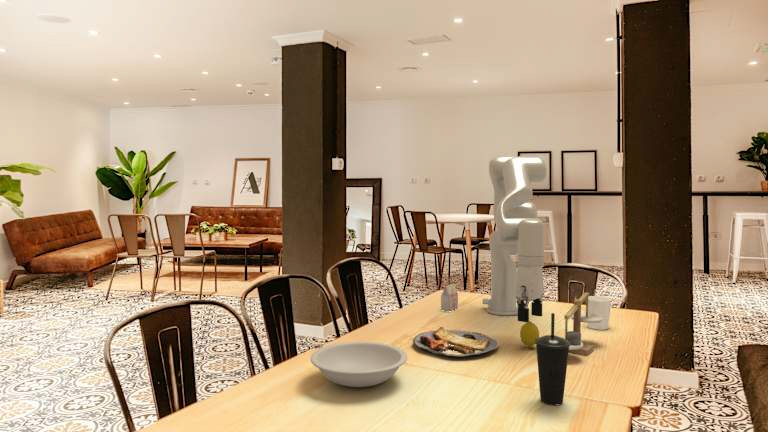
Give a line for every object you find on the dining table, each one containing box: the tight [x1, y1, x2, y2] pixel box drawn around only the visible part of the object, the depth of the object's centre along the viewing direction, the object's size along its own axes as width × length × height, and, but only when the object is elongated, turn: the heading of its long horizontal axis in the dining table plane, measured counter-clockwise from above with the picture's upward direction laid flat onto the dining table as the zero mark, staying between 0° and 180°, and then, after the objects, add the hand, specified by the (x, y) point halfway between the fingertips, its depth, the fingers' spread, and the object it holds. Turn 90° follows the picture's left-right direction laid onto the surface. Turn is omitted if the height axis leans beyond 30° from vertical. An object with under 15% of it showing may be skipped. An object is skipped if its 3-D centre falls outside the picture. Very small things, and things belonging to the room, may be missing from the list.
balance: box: [563, 291, 603, 356], centre depth 155 cm, size 9×27×16 cm, turn 141°
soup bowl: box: [310, 340, 408, 388], centre depth 131 cm, size 24×24×7 cm
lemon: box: [519, 320, 540, 349], centre depth 158 cm, size 6×6×8 cm
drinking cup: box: [535, 312, 571, 406], centre depth 119 cm, size 8×8×20 cm
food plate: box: [412, 326, 499, 357], centre depth 159 cm, size 25×23×4 cm
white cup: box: [586, 295, 612, 331], centre depth 180 cm, size 8×8×10 cm
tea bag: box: [440, 283, 459, 312], centre depth 206 cm, size 4×7×10 cm, turn 143°
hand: (530, 318), depth 157 cm, fingers open, 9 cm apart
